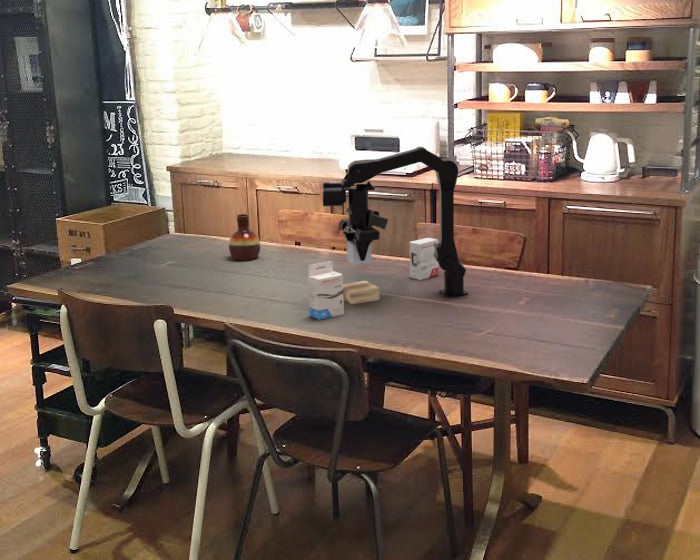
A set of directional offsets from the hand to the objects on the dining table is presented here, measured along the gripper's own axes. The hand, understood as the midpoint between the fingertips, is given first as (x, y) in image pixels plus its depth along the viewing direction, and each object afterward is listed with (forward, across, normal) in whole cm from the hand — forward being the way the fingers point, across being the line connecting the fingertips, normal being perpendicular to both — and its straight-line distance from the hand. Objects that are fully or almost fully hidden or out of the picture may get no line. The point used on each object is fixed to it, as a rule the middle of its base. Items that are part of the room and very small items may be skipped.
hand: (359, 258), depth 256 cm
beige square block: (+12, 0, 0) cm, 12 cm away
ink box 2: (+12, +13, -26) cm, 32 cm away
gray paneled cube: (+1, 0, 0) cm, 1 cm away
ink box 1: (+12, -12, +14) cm, 22 cm away
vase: (+13, +64, +20) cm, 68 cm away
